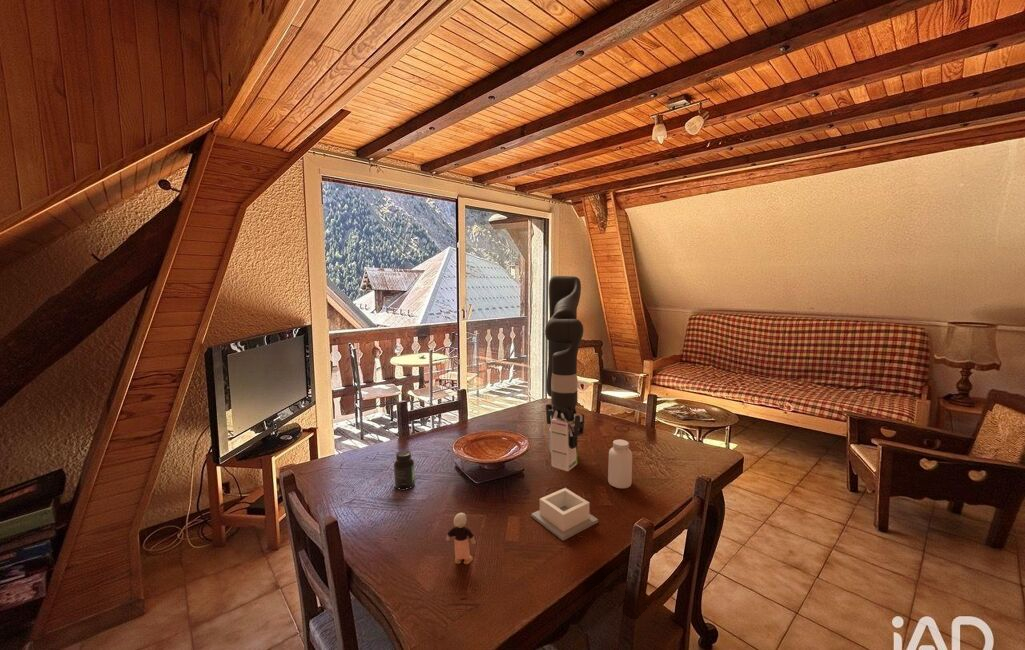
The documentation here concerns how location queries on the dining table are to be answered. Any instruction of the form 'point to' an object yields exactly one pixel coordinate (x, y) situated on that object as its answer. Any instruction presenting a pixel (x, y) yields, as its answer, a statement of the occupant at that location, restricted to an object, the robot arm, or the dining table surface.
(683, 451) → the dining table surface
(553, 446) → the syrup box
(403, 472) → the supplement bottle
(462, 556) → the grandmother figurine
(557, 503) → the socket
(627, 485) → the pill bottle
